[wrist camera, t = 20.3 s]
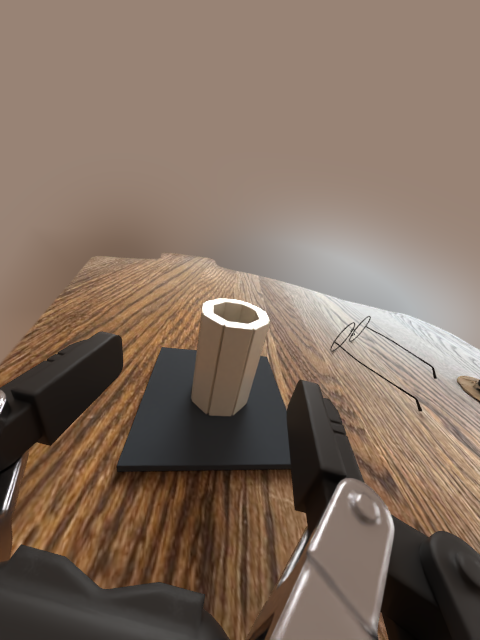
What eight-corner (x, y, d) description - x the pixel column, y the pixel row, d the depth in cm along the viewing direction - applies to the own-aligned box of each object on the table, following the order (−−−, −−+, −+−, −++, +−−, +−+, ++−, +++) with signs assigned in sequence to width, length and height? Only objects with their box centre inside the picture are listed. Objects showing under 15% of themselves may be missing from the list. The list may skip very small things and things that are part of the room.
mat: (117, 472, 12) (116, 466, 12) (161, 351, 23) (161, 347, 23) (303, 469, 15) (306, 464, 14) (265, 360, 25) (266, 356, 25)
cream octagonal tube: (188, 415, 16) (200, 323, 12) (194, 372, 20) (203, 295, 17) (249, 417, 17) (276, 332, 13) (242, 376, 21) (261, 303, 18)
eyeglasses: (437, 377, 30) (460, 347, 27) (419, 417, 21) (449, 380, 19) (358, 337, 37) (371, 311, 34) (322, 356, 29) (337, 324, 26)
